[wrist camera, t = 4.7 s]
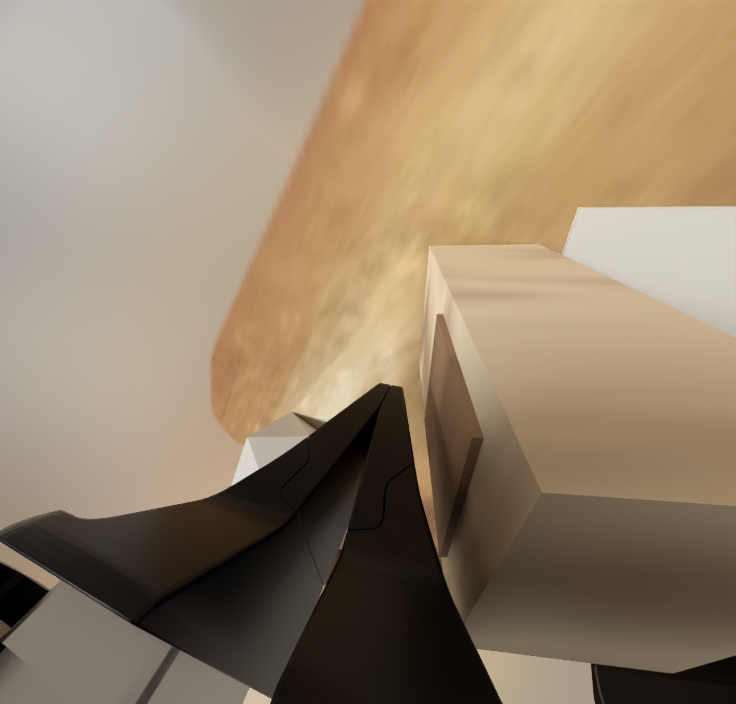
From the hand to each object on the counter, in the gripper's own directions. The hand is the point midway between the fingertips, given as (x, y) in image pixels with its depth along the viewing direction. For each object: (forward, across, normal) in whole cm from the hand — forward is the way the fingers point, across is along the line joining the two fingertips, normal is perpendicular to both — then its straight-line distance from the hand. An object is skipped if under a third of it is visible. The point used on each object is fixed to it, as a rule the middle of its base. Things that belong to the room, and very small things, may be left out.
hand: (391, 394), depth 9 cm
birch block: (+7, -2, 0) cm, 8 cm away
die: (+8, +11, +15) cm, 20 cm away
